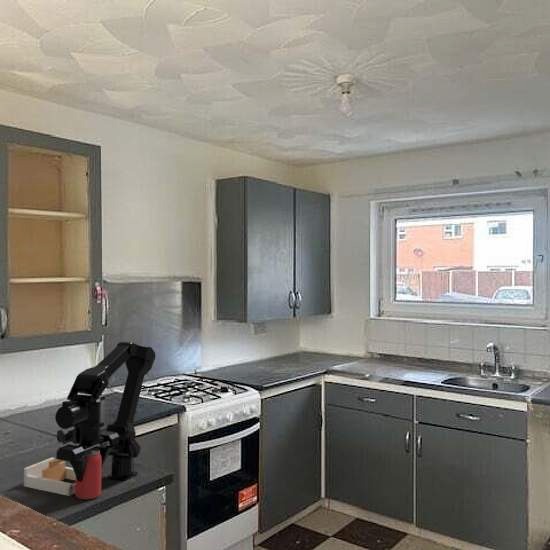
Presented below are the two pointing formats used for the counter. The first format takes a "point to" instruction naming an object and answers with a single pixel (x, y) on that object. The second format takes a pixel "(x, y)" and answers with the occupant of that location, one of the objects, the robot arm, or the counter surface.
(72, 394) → the robot arm
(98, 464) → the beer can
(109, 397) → the counter surface
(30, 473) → the white tray
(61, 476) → the pusher
